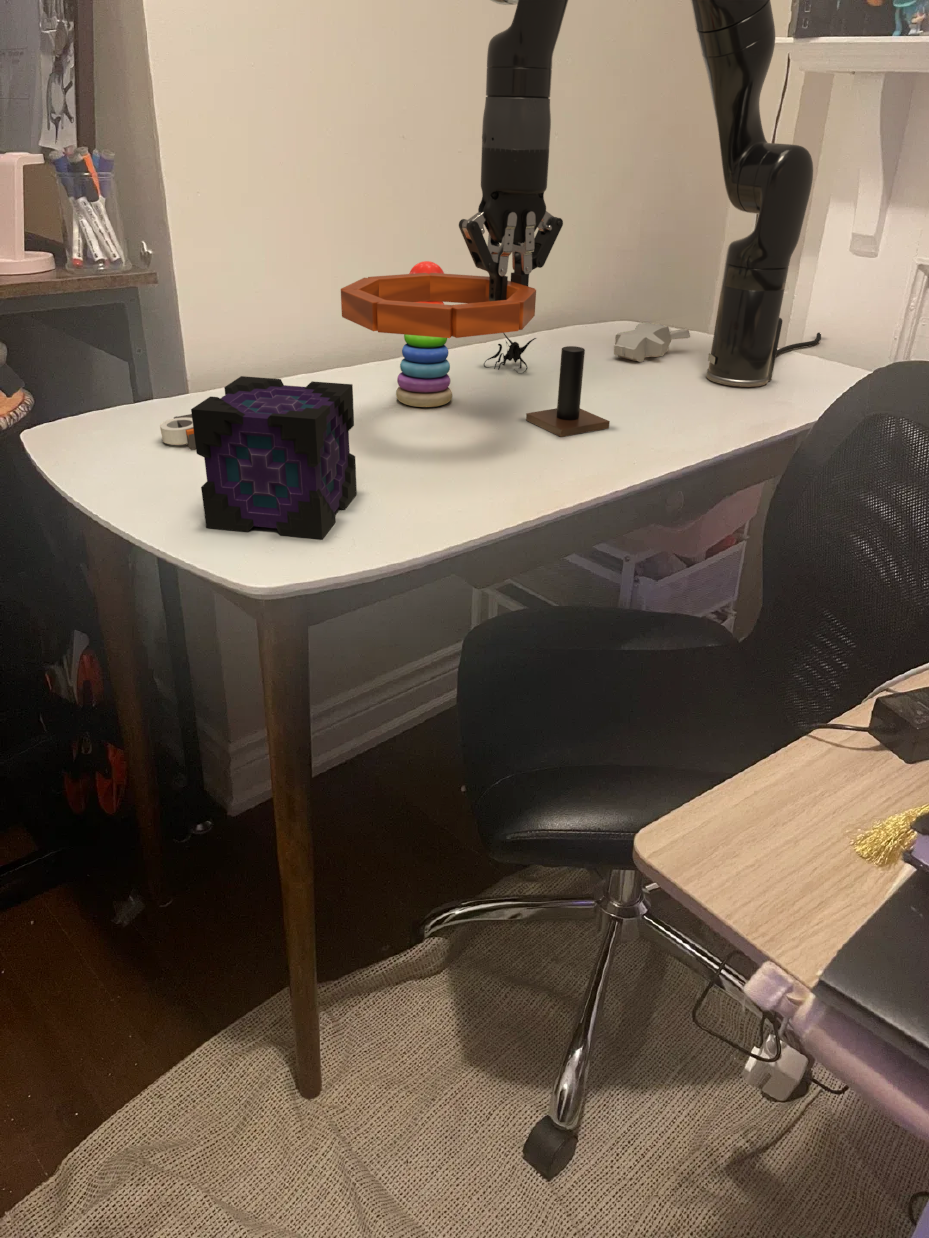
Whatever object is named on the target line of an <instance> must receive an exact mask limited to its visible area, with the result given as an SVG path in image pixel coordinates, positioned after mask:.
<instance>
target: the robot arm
mask: <svg viewBox="0 0 929 1238" xmlns="http://www.w3.org/2000/svg"><path fill="white" fill-rule="evenodd" d="M490 1H491V2H492V3H495V4H497V5H502V6H513V5H514V6H516V8H515V12H514V15H513V18H512V22H511V24H510V26H509V27H508V28H506V29H505V30H503V31H500V32H499V33H497V34H495V35H494V36H493V37H491V39H490V40H489V42H488V46H487V51H486V52H487V53H486V75H485V77H486V78H485V79H486V80H485V102H484V107H483V108H484V109H483V113H482V114H483V115H482V127H481V128H482V129H481V131H482V132H481V160H480V189H481V194H482V195H481V200H480V202H479V205H478V208H477V212H476V213H475V214H474V215H472V216H470V217H469V218H468V219H466V218H462V219H461V220H459V222H458V228H459V231H460V233H461V235H462V238H463V240H464V242H465V245H466V248H467V250H468V253H469V254H470V257H471V259H472V261H473V263H474V266H475V267H476V268H477V269H480V270H483V271H485V272H486V273H488V277H489V301H500V300H506V298H507V283H508V281H509V276H507V274H508V269H509V259H510V256H511V262H512V263H511V265H512V270H513V272H510V281H511V282H514V283H518V284H521V285H525V286H528V287H529V284H530V283H529V281H530V274H531V273H532V271H534V270H535V269H537V268H538V269H542V268H543V267H544V266H545V264H546V262H547V260H548V257H549V255H550V253H551V251H552V249H553V247H554V245H555V243H556V241H557V238H558V236H559V234H560V232H561V230H562V228H563V225H564V220H563V218H562V217H558V216H554V215H552V214H551V213H550V212H548V211H547V205H546V202H545V196H544V195H545V191H547V188H548V176H549V164H550V163H549V162H550V146H551V145H550V144H551V129H552V116H551V115H552V113H551V99H550V98H551V93H552V75H553V56H554V52H555V49H556V45H557V42H558V39H559V35H560V33H561V29H562V24H563V21H564V17H565V14H566V10H567V7H568V3H569V0H490ZM690 3H691V4H690V5H691V10H692V14H693V15H692V16H693V20H694V26H695V32H696V34H697V39H698V44H699V49H700V52H701V57H702V61H703V64H704V68H705V71H706V75H707V81H708V84H709V91H710V96H711V99H712V106H713V111H714V117H715V120H716V128H717V132H718V143H719V150H720V151H719V152H720V158H721V159H720V160H721V168H722V175H723V176H722V177H723V182H724V187H725V191H726V195H727V198H728V200H729V202H730V204H731V205H732V206H733V208H735V209H736V210H738V211H740V212H743V213H748V214H754V215H758V216H757V219H756V223H755V226H754V229H753V231H752V232H751V233H750V234H748V235H747V236H745V237H742V238H739V239H736V240H733V241H731V242H730V243H729V244H728V246H727V248H726V249H727V250H726V254H725V260H724V268H723V273H722V280H721V287H720V293H719V300H718V306H717V313H716V317H715V318H716V319H715V325H714V330H713V337H712V344H711V348H710V349H711V350H710V353H708V358H707V361H708V362H709V363H708V368H707V370H706V378H707V379H708V380H709V381H711V382H714V383H717V384H720V385H723V386H730V387H738V388H755V387H761V386H765V385H766V384H768V383H769V382H771V381H772V378H773V373H774V369H775V363H776V357H777V356H778V355H780V354H782V353H785V352H788V351H790V350H794V349H800V348H805V347H810V346H814V345H817V344H819V342H820V341H821V339H822V333H821V332H817V333H816V337H815V339H814V340H810V341H804V342H796V343H793V344H788V345H786V346H783V347H780V348H779V342H780V337H781V332H782V327H783V318H781V317H780V315H781V310H782V305H783V301H784V294H785V288H786V283H787V278H788V273H789V267H790V263H791V260H792V259H791V258H792V256H793V254H794V251H795V250H796V248H797V245H798V243H799V240H800V238H801V237H800V236H801V232H802V228H803V224H804V220H805V216H806V212H807V208H808V204H809V201H810V195H811V190H812V186H813V180H814V162H813V157H812V155H811V154H810V151H809V150H808V149H807V148H805V147H804V146H802V145H799V144H791V143H790V144H789V143H775V142H768V141H767V139H766V137H765V133H764V129H763V125H762V118H761V111H760V110H761V109H760V108H761V107H760V101H761V94H762V90H763V87H764V83H765V80H766V78H767V75H768V72H769V69H770V66H771V63H772V59H773V56H774V51H775V47H776V27H775V21H774V14H773V8H772V3H771V0H690ZM484 227H485V228H484ZM537 229H538V230H537ZM486 231H487V233H488V236H487V242H486V239H485V236H484V234H485V232H486ZM536 231H537V232H536ZM535 233H536V234H535ZM820 333H821V334H820ZM778 348H779V349H778Z"/></svg>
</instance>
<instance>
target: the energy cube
mask: <svg viewBox="0 0 929 1238" xmlns="http://www.w3.org/2000/svg"><path fill="white" fill-rule="evenodd" d="M353 387H354V386H353V383H341V382H328V381H327V382H324V381H315V380H314V381H313V380H311V381H310V382H309V383H308V384H307V385H306V386H299V385H286V384H285V385H284V383H283V381H282V378H271V377H258V376H257V377H256V376H244V375H243V376H242V375H241V376H239V377H238V378H236V379H234V380H233V381H232V382H230V383H228V384H227V385H225V386H224V395H223V396H221V397H218V396H209V397H207V398H206V399H204V400H202V401H201V402H199V403H198V404H197V405H195V406H194V407H192V408H191V409H190V414H192V421H193V429H194V437H195V444H196V449H195V450H196V451H195V452H196V455H198V456H200V457H202V458H203V460H204V466H205V475H206V481H205V482H204V483H203V484H202V486H201V487H200V490H201V499H202V505H203V514H204V520H205V528H206V529H213V530H222V531H234V532H242V533H243V532H244V533H249V531H250V530H252V529H253V528H254V527H259V528H267V529H268V528H269V529H276V530H277V532H278V534H279V536H283V537H292V538H293V537H294V538H303V539H304V538H305V539H312V540H313V539H315V540H324V539H325V537H326V535H327V534H329V532H330V531H331V529H332V528H333V526H334V525H335V524H336V523H337V519H336V514H335V513H336V511H338V509H339V510H346V509H347V508H348V506H349V505H350V504H351V503H352V501H353V500H354V498H355V497H356V496H357V493H358V492H357V491H358V489H357V467H356V466H357V465H356V455H354V454H353V453H351V452H350V435H349V434H350V433H349V432H350V431H351V429H352V428H353V427H354V426H355V415H354V413H355V412H354V411H355V410H354V392H353V391H354V390H353V389H354V388H353Z"/></svg>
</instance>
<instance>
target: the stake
mask: <svg viewBox="0 0 929 1238" xmlns="http://www.w3.org/2000/svg"><path fill="white" fill-rule="evenodd" d="M585 352H586V349H585V348H584V347H582V346H581V347H580V346H576V345H575V346H574V345H567V346H562V348H561V351H560V365H559V366H560V367H559V377H558V391H557V392H558V393H557V405H556V408H551V409H550V408H549V409H544V410H538V411H532V412H527V413H525V421H527V422H529V423H530V424H533V425H535V426H536V427H539V428H541V429H543V430H545V431H548V432H549V433H552V434H553V435H556V436H558V437H559V438H563V437H569V436H575V435H579V434H586V433H591V432H596V431H601V430H607V429H610V420H607V419H606V418H603V417H601V416H599V415H596V414H594V413H592V412H589V411H587V410H586V409H585V410H584V409H583V408H581V399H582V389H583V376H584V365H585V356H586V355H585V354H586V353H585Z"/></svg>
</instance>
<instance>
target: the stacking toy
mask: <svg viewBox="0 0 929 1238" xmlns="http://www.w3.org/2000/svg"><path fill="white" fill-rule="evenodd" d="M415 273H428V274H430V273H442V274H445V271H444V270H443V268H442V267H441V266H440V265H439V264H437V263H435V262H434V261H429V260H425V261H420V262H418V263H416V264H415V265H413V267H411V269H410V271H409V273H408V274H415ZM417 303H430V304H444V305H445V302H441V301H421V302H417ZM403 339H404V342H405V344H404V345H403V347H402V349H401V354H402V357H403V358H402V359H401V361H400V364H399V368H400V373H399V374H398V375H397V379H396V382H397V384H398V387H397V389H396V392H395V396H396V399H397V400H398V401H399V402H400V403H401V404H404V405H405V406H406V405H407V406H410V407H417V408H435V407H440V406H444V405H447V404H448V403H449V402H451V400H452V398H453V391H452V388H450V386H451V377H450V375H449V374H448V373H449V372H450V369H451V365H450V364H451V363H450V362H449V360H448V357H449V349H448V347H447V345H446V343H447V341H448V338H441V337H429V336H417V335H404V334H403Z"/></svg>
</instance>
